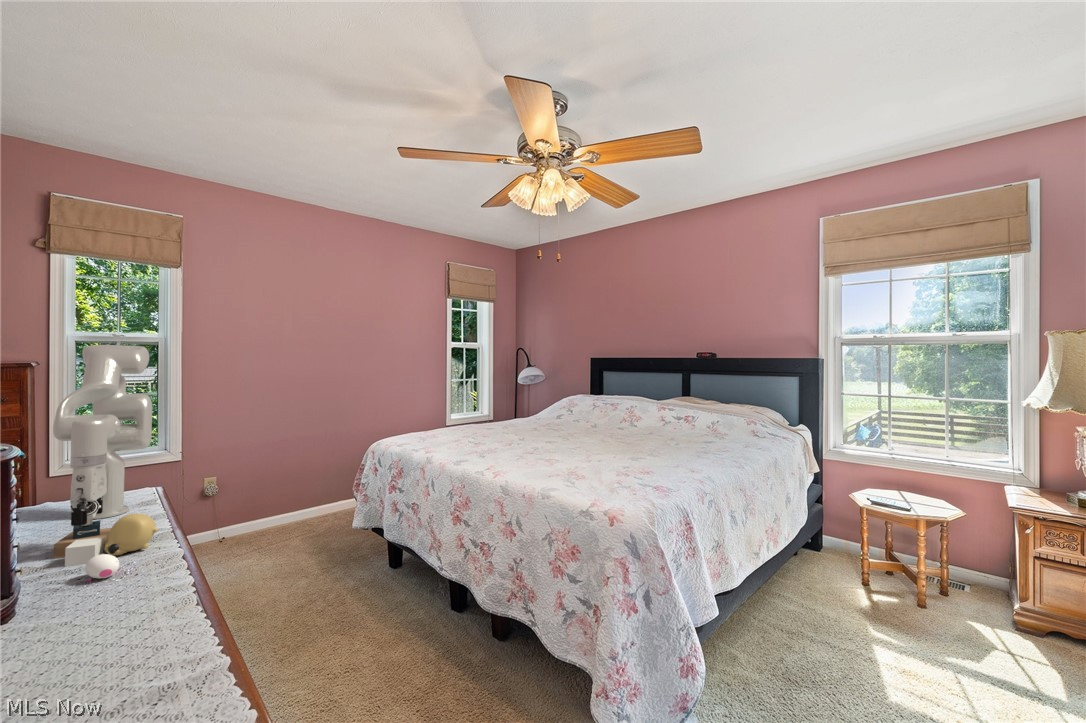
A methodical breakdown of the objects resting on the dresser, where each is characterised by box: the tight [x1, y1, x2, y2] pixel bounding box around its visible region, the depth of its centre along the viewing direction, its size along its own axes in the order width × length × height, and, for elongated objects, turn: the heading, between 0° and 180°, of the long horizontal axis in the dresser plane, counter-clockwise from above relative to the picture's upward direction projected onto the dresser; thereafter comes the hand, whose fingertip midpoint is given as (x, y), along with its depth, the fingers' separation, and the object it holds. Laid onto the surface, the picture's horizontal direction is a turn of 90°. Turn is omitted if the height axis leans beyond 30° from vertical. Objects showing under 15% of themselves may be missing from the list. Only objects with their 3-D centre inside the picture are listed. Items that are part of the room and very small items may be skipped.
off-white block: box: [64, 537, 105, 567], centre depth 126 cm, size 6×6×5 cm
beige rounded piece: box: [104, 513, 159, 557], centre depth 133 cm, size 10×12×11 cm
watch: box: [72, 500, 101, 540], centre depth 133 cm, size 6×8×11 cm
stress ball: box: [84, 553, 121, 583], centre depth 117 cm, size 8×8×7 cm
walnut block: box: [53, 527, 112, 560], centre depth 133 cm, size 10×10×4 cm
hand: (87, 519), depth 133 cm, fingers open, 9 cm apart
